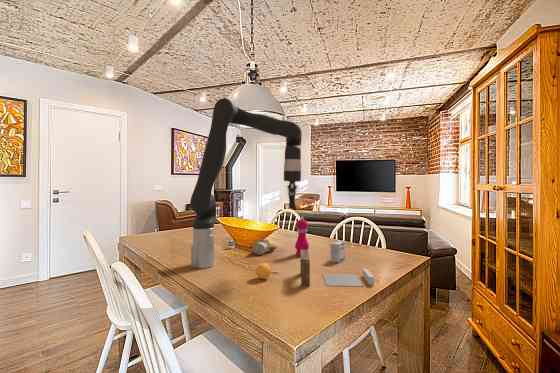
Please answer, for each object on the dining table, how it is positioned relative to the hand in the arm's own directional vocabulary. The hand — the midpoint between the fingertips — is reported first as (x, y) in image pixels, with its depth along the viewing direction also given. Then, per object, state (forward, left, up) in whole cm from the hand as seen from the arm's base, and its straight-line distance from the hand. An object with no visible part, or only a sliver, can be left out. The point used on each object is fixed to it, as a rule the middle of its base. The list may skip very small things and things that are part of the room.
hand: (291, 207), depth 120 cm
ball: (-11, -13, -24) cm, 29 cm away
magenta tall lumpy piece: (+5, +25, -27) cm, 37 cm away
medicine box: (+22, +15, -27) cm, 38 cm away
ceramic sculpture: (-16, +29, -27) cm, 42 cm away
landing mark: (+19, -13, -27) cm, 35 cm away
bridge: (+5, -13, -27) cm, 30 cm away
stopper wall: (+29, -13, -27) cm, 42 cm away
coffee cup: (-35, +38, -27) cm, 58 cm away
